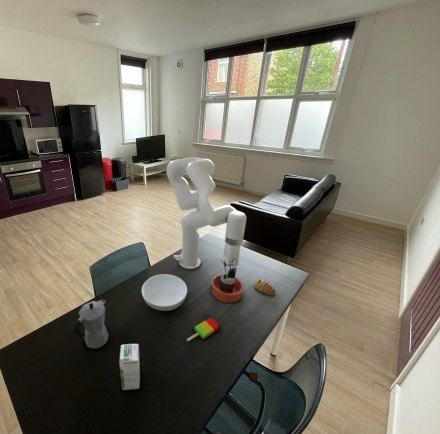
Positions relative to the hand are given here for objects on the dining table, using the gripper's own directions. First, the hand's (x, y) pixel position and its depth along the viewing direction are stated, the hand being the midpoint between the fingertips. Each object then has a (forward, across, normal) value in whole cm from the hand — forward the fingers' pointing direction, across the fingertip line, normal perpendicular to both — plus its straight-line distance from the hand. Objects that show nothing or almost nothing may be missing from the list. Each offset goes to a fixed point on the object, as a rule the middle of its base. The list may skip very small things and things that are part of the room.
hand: (229, 271), depth 111 cm
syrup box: (+13, +44, -39) cm, 60 cm away
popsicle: (+13, +24, -14) cm, 31 cm away
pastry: (+13, -3, +19) cm, 23 cm away
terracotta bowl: (+13, 0, 0) cm, 13 cm away
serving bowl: (+13, +7, -30) cm, 33 cm away
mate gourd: (+12, -1, 0) cm, 12 cm away
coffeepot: (+13, +30, -56) cm, 65 cm away
